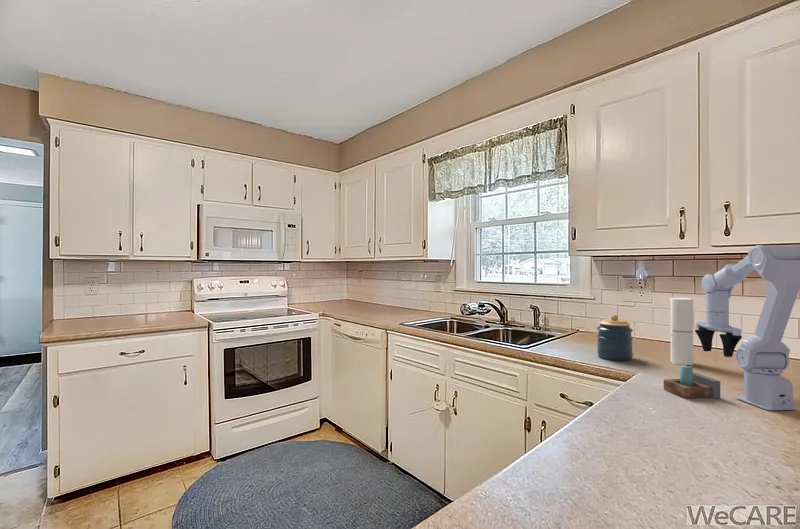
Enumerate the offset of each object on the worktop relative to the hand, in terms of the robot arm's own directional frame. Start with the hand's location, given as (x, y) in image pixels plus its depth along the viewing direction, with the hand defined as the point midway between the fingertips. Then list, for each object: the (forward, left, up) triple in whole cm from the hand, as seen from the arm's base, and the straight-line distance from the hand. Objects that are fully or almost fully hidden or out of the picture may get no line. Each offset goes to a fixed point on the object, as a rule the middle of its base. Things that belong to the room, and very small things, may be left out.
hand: (717, 353), depth 126 cm
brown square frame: (-8, +18, -9) cm, 22 cm away
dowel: (-8, +18, -9) cm, 22 cm away
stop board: (-8, +13, -9) cm, 18 cm away
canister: (+35, +12, -10) cm, 38 cm away
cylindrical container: (+24, -8, -10) cm, 27 cm away
